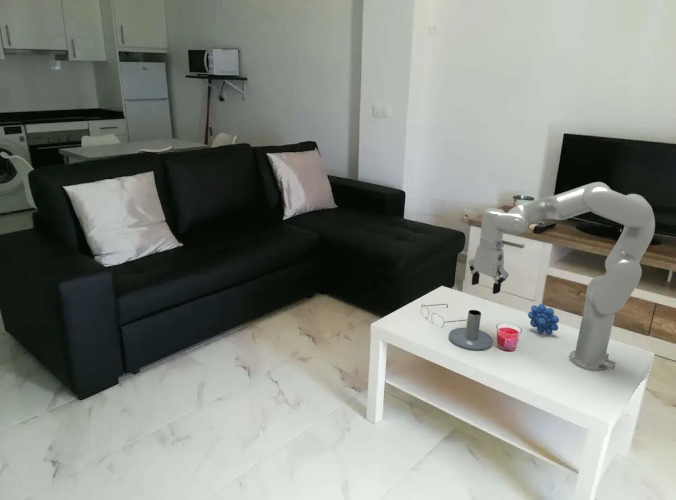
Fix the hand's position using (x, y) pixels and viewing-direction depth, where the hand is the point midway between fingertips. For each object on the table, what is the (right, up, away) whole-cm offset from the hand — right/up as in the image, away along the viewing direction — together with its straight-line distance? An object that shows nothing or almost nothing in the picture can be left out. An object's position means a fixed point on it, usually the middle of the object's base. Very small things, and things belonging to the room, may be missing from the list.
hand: (485, 288), depth 189 cm
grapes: (+25, -19, +13) cm, 34 cm away
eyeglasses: (-10, -14, +24) cm, 30 cm away
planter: (-4, -19, +6) cm, 20 cm away
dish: (-4, -20, +6) cm, 21 cm away
